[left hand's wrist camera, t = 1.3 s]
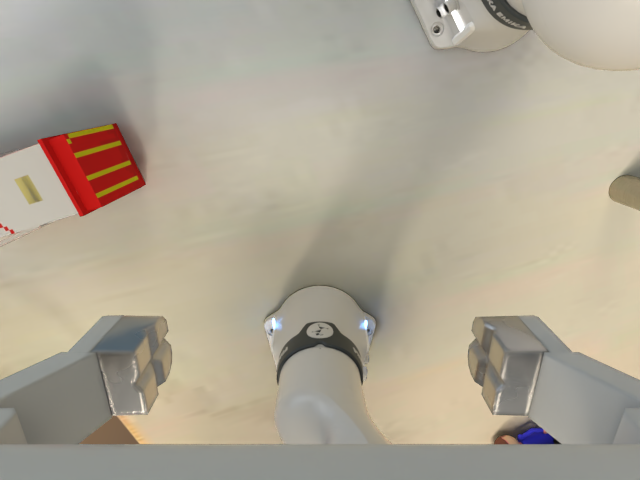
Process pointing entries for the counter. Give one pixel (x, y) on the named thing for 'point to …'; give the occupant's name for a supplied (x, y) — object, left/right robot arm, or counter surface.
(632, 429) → the left robot arm
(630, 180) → the beige cylinder
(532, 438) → the figurine character
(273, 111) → the counter surface
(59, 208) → the toy
